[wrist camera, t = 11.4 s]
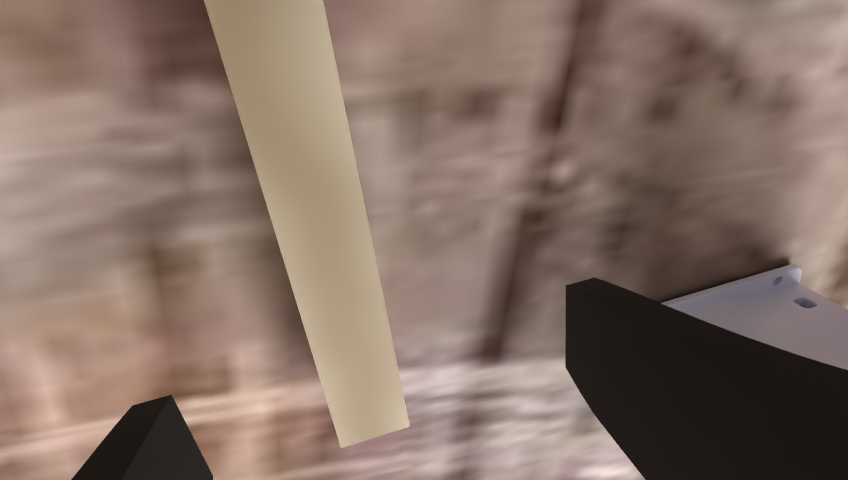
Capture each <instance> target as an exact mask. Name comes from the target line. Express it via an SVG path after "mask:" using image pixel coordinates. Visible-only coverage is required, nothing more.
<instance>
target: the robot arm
mask: <svg viewBox="0 0 848 480" xmlns="http://www.w3.org/2000/svg"><path fill="white" fill-rule="evenodd" d="M801 274H802V270H801V268H799V267H797V266H795V265H793V264H791V265H787V266H784V267H780V268H777V269H774V270H770V271H767V272H764V273H760V274H757V275H753V276H750V277H747V278H743V279H740V280H737V281H733V282H730V283H726V284H723V285H720V286H716V287H713V288H710V289H706V290H703V291H699V292H696V293H693V294H689V295H686V296H683V297H679V298H676V299H673V300H669V301H666V302H662V303H659V302H656V301H654V300H651V299H649V298H647V297H644V296H642V295H639V294H637V293H634V292H632V291H629V290H627V289H624V288H622V287H619V286H617V285H614V284H611V283H609V282H606V281H603V280H600V279H597V278H592V279H588V280H584V281H581V282H577V283H574V284H570V285H566V369H567V370H568V372H569V374H570V375H571V377H572V379H573V381H574V382H575V384H576V386H577V387H578V389H579V391H580V393H581V394H582V396H583V397H584V399H585V401H586V402H587V404H588V405H589V407H590V408H591V410H592V412H593V413H594V414H595V416H596V417H597V418H598V420H599V421H600V422H601V424H602V425H603V426H604V427H605V429H606V430H607V431H608V433H609V434H610V435H611V436H612V438H613V439H614V440H615V442H616V443H617V444H618V445H619V447H620V448H621V449H622V450H623V452H624V453H625V454H626V455H627V457H628V458H629V459H630V460H631V462H632V463H633V464H634V466H635V467H636V468H637V469H638V471H639V472H640V473H641V474H642V476H643V477H644V478H645V479H646V480H848V309H846V308H844V307H842V306H840V305H838V304H836V303H835V302H833V301H831V300H829V299H827V298H825V297H823V296H821V295H820V294H818V293H816V292H814V291H812V290H810V289H808V288H806V287H804V286H803V285H801V284H799V282H800V278H801ZM72 480H213V475H212V473H211V471H210V469H209V467H208V465H207V463H206V461H205V459H204V458H203V456H202V454H201V452H200V450H199V448H198V446H197V444H196V442H195V440H194V438H193V436H192V434H191V432H190V430H189V428H188V426H187V424H186V422H185V420H184V418H183V416H182V415H181V413H180V411H179V409H178V407H177V405H176V403H175V401H174V399H173V397H172V395H169V396H165V397H162V398H158V399H155V400H151V401H147V402H144V403H140V404H137V405H133V406H132V407H131V408H130V409H129V410H128V411H127V412H126V414H125V415H124V416H123V417H122V418H121V419H120V421H119V422H118V423H117V424H116V425H115V427H114V428H113V429H112V430H111V431H110V433H109V434H108V435H107V436H106V438H105V439H104V440H103V441H102V442H101V444H100V445H99V446H98V447H97V449H96V450H95V451H94V452H93V454H92V455H91V456H90V457H89V459H88V460H87V461H86V462H85V464H84V465H83V466H82V467H81V468H80V470H79V471H78V472H77V473H76V475H75V476H74V477H73V478H72Z"/></svg>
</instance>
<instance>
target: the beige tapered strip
mask: <svg viewBox="0 0 848 480" xmlns="http://www.w3.org/2000/svg"><path fill="white" fill-rule="evenodd" d="M204 2H205V6H206V9H207V12H208V15H209V19H210V22H211V25H212V28H213V32H214V35H215V38H216V42H217V45H218V48H219V51H220V55H221V58H222V61H223V64H224V68H225V71H226V74H227V77H228V81H229V84H230V87H231V90H232V94H233V97H234V100H235V104H236V107H237V110H238V113H239V117H240V120H241V123H242V126H243V130H244V133H245V136H246V139H247V143H248V146H249V149H250V152H251V156H252V159H253V162H254V166H255V169H256V172H257V175H258V179H259V182H260V185H261V188H262V192H263V195H264V198H265V201H266V205H267V208H268V211H269V214H270V218H271V221H272V224H273V227H274V231H275V234H276V237H277V241H278V244H279V247H280V250H281V254H282V257H283V260H284V263H285V267H286V270H287V273H288V276H289V280H290V283H291V286H292V289H293V293H294V296H295V299H296V303H297V306H298V309H299V312H300V316H301V319H302V322H303V325H304V329H305V332H306V335H307V338H308V342H309V345H310V348H311V351H312V355H313V358H314V361H315V365H316V368H317V371H318V374H319V378H320V381H321V384H322V387H323V391H324V394H325V397H326V400H327V404H328V407H329V410H330V413H331V417H332V420H333V423H334V427H335V430H336V433H337V436H338V440H339V443H340V446H341V448H342V447H346V446H349V445H352V444H355V443H358V442H362V441H365V440H368V439H371V438H374V437H378V436H381V435H384V434H387V433H390V432H394V431H397V430H400V429H403V428H406V427H409V426H410V425H409V420H408V415H407V410H406V406H405V401H404V396H403V391H402V386H401V381H400V376H399V371H398V366H397V361H396V356H395V351H394V347H393V342H392V337H391V332H390V327H389V322H388V317H387V312H386V307H385V302H384V297H383V292H382V288H381V283H380V278H379V273H378V268H377V263H376V258H375V253H374V248H373V243H372V238H371V233H370V229H369V224H368V219H367V214H366V209H365V204H364V199H363V194H362V189H361V184H360V179H359V174H358V170H357V165H356V160H355V155H354V150H353V145H352V140H351V135H350V130H349V125H348V120H347V115H346V111H345V106H344V101H343V96H342V91H341V86H340V81H339V76H338V71H337V66H336V61H335V56H334V51H333V47H332V42H331V37H330V32H329V27H328V22H327V17H326V12H325V7H324V2H323V0H204Z"/></svg>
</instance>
